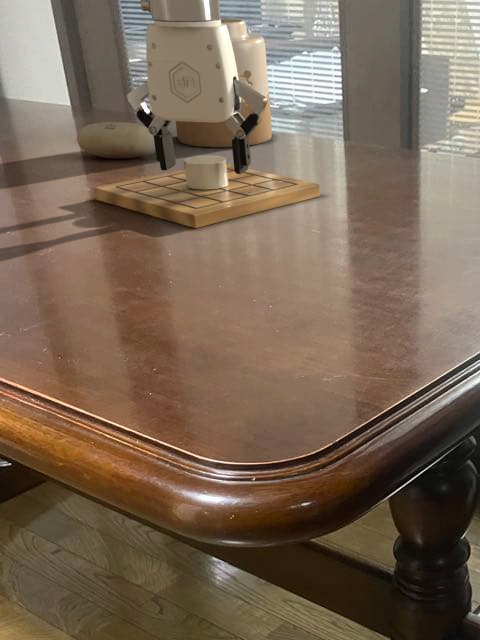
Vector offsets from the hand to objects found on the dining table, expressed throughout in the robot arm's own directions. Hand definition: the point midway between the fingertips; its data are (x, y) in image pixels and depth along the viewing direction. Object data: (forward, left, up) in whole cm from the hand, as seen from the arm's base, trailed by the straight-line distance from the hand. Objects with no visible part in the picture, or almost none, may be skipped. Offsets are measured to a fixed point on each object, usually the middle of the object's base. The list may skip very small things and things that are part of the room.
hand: (204, 169), depth 109 cm
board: (0, 0, -3) cm, 3 cm away
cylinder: (0, 0, -2) cm, 2 cm away
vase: (-29, +27, -4) cm, 40 cm away
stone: (-29, +7, -4) cm, 30 cm away
